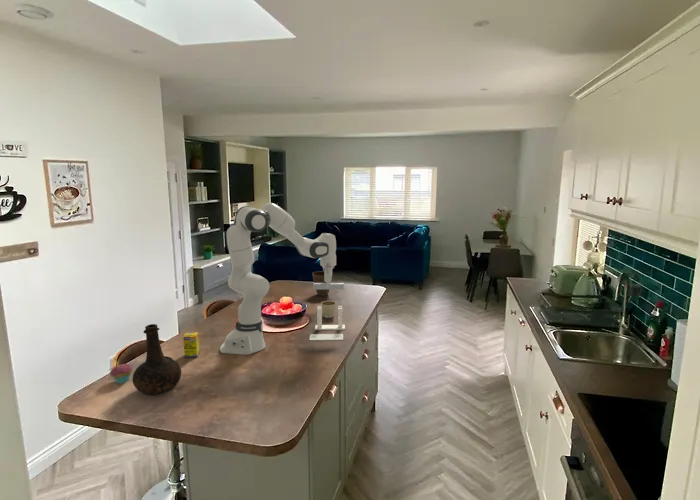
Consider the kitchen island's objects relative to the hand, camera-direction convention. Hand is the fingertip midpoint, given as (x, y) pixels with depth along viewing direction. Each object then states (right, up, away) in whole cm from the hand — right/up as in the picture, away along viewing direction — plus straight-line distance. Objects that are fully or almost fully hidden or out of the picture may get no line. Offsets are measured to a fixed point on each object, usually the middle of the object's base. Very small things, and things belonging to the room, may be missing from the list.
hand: (328, 286), depth 232 cm
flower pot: (-1, -21, +27) cm, 34 cm away
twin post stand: (+1, -25, +7) cm, 26 cm away
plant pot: (-8, -13, +74) cm, 75 cm away
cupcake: (-86, -36, -53) cm, 108 cm away
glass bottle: (-67, -38, -61) cm, 98 cm away
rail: (0, -1, 0) cm, 1 cm away
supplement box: (-65, -32, -28) cm, 78 cm away
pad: (-1, -27, -7) cm, 28 cm away
